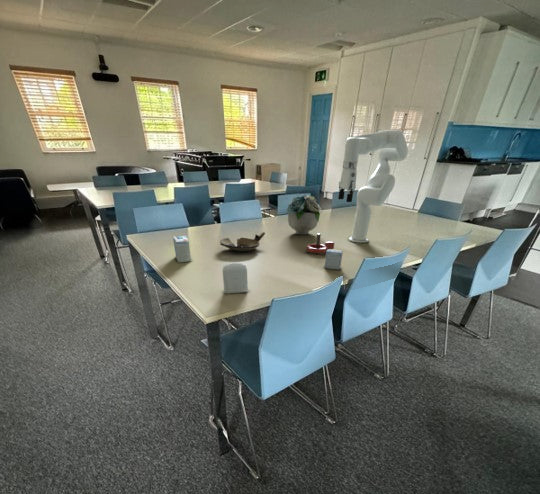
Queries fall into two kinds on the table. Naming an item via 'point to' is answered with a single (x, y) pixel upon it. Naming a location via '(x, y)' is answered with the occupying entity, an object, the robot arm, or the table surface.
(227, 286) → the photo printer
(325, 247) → the ring
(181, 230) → the table surface
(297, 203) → the flower arrangement
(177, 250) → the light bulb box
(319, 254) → the post
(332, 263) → the medicine box
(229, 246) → the oil lamp
